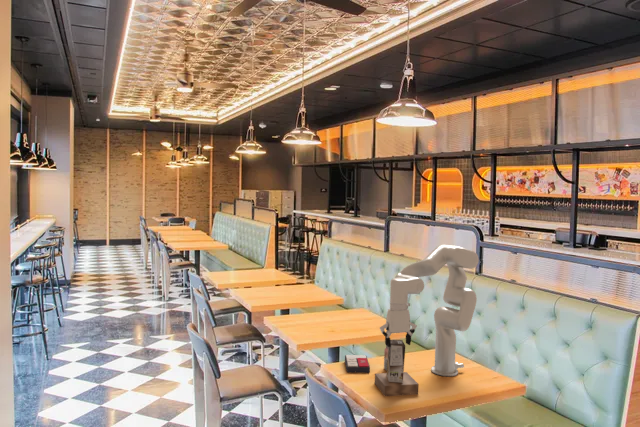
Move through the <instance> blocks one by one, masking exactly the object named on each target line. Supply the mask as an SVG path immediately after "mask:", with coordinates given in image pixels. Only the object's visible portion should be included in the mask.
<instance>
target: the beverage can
mask: <svg viewBox="0 0 640 427" xmlns="http://www.w3.org/2000/svg"><path fill="white" fill-rule="evenodd" d="M383 354H384V355H383V368H384V370H385V371H386V372H387V359H388V346H387V345H386V344H385V348H384V351H383Z"/></svg>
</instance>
